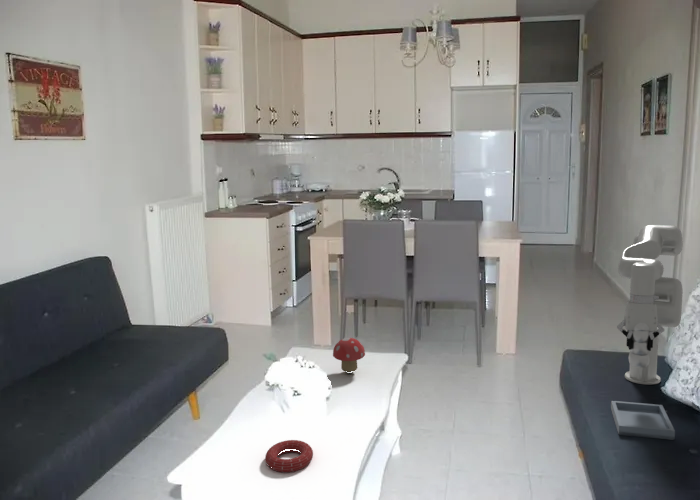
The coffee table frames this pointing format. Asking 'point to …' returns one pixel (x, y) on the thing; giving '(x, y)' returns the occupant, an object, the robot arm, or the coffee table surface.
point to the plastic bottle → (639, 346)
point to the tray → (642, 420)
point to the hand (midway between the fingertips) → (639, 348)
